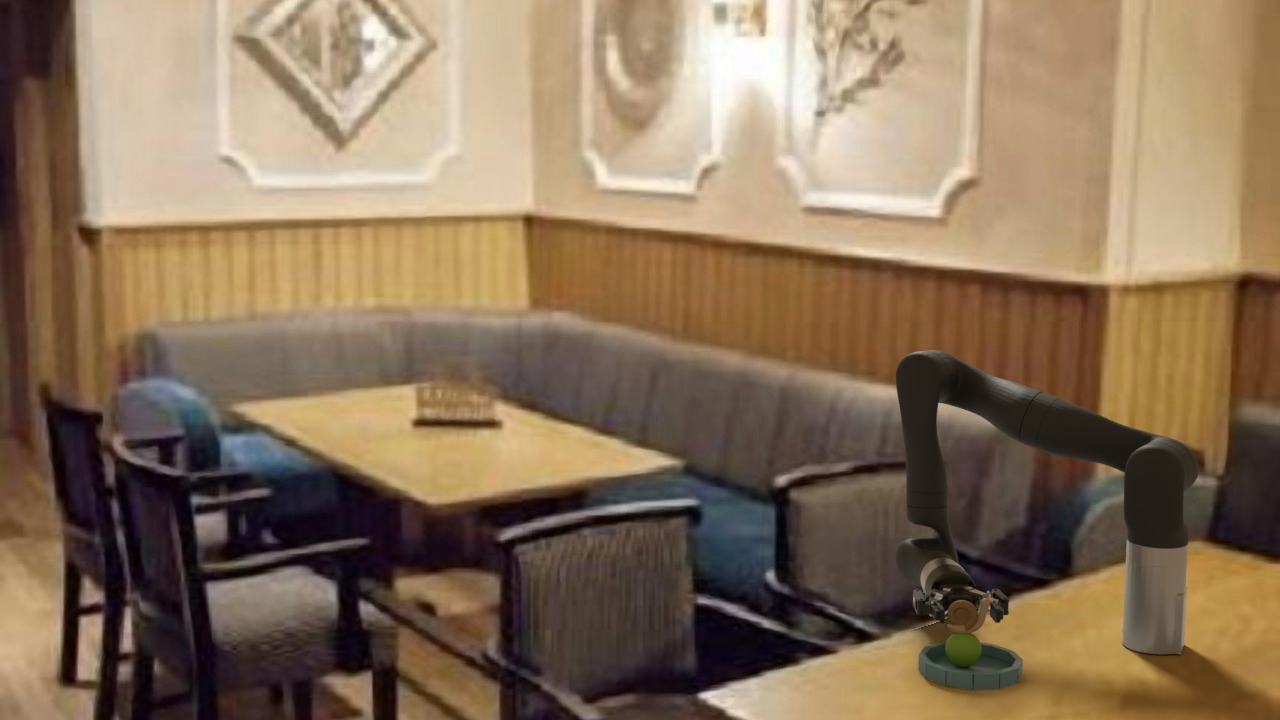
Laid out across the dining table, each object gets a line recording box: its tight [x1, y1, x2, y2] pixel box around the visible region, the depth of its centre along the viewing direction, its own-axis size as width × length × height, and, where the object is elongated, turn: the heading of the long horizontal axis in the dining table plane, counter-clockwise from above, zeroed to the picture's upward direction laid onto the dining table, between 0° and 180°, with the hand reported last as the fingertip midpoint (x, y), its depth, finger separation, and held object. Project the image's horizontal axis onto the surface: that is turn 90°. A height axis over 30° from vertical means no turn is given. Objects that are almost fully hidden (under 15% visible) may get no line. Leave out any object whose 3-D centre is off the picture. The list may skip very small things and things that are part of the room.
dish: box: [918, 640, 1024, 691], centre depth 231 cm, size 15×15×2 cm
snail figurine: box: [945, 590, 991, 667], centre depth 230 cm, size 5×6×12 cm
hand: (970, 616), depth 231 cm, fingers open, 8 cm apart
